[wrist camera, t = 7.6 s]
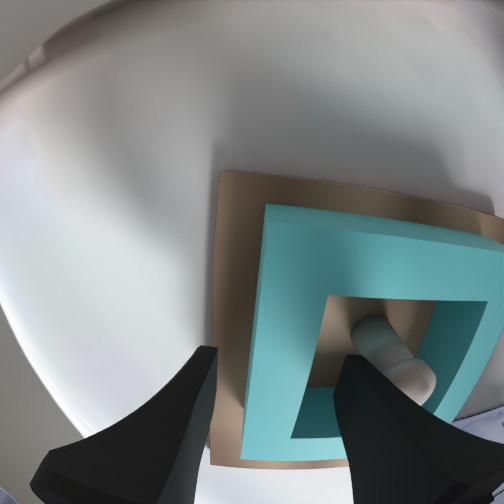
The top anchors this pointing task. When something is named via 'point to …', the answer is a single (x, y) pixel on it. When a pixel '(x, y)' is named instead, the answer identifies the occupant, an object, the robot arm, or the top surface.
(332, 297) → the peg board
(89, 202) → the top surface
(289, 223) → the loop
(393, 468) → the robot arm
